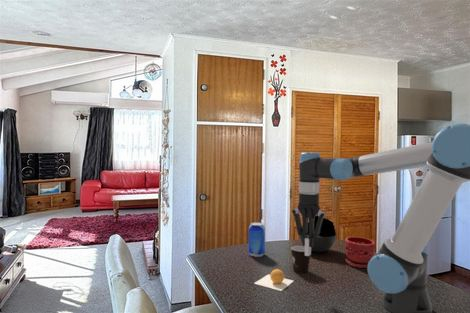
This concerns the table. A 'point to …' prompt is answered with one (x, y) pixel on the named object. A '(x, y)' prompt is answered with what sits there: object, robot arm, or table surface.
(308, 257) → the coffee mug
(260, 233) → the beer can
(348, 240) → the plant pot
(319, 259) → the table surface
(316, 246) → the bowl of black rocks
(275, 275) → the ball
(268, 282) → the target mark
